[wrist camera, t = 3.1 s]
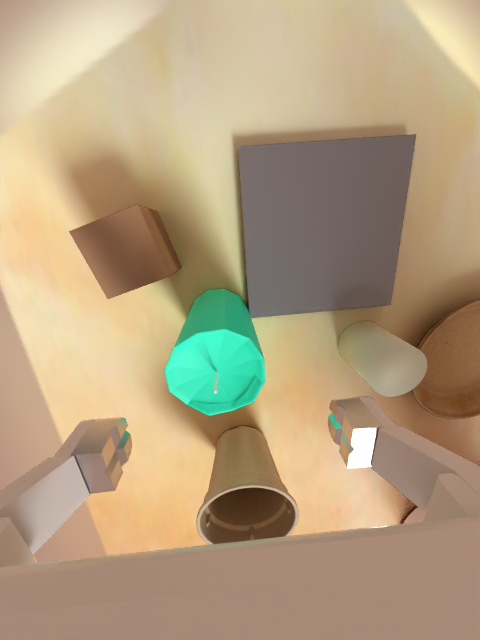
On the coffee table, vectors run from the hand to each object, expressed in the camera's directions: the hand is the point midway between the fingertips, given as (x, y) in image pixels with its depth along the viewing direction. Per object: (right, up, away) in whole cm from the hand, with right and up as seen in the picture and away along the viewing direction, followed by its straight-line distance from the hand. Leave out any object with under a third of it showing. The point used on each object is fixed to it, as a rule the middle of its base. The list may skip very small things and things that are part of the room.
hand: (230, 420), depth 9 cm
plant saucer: (+26, 0, +18) cm, 31 cm away
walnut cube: (-8, +10, +12) cm, 18 cm away
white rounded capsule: (+14, +2, +16) cm, 21 cm away
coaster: (+8, +12, +12) cm, 19 cm away
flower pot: (+1, -11, +20) cm, 23 cm away
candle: (-2, +4, +14) cm, 15 cm away
